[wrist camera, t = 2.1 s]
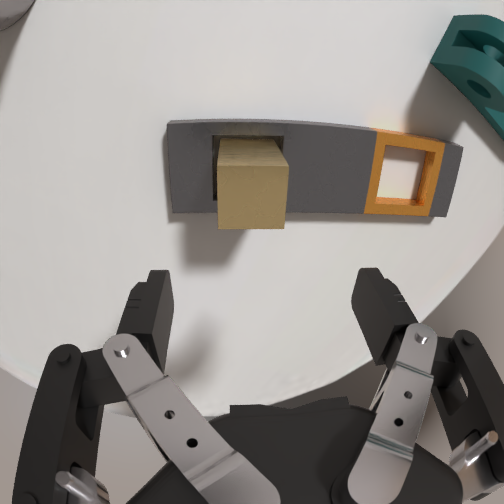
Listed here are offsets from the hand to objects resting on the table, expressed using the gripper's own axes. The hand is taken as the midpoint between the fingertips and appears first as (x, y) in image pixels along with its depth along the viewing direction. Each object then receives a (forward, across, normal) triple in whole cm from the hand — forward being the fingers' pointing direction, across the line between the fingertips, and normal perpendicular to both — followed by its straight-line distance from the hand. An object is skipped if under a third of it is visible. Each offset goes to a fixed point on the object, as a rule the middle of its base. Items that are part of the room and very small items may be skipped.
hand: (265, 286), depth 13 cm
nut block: (+17, 0, 0) cm, 17 cm away
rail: (+17, -8, 0) cm, 18 cm away
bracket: (+17, -26, -11) cm, 33 cm away
